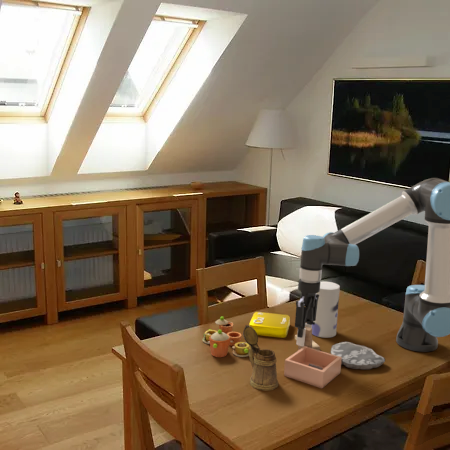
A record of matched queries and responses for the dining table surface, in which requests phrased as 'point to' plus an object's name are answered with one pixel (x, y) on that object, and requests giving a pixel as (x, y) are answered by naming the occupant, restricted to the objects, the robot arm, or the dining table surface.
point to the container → (326, 310)
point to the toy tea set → (225, 340)
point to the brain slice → (357, 356)
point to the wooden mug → (261, 363)
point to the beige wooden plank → (312, 344)
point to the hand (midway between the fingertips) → (303, 343)
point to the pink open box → (312, 366)
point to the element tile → (270, 324)
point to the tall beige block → (307, 338)
